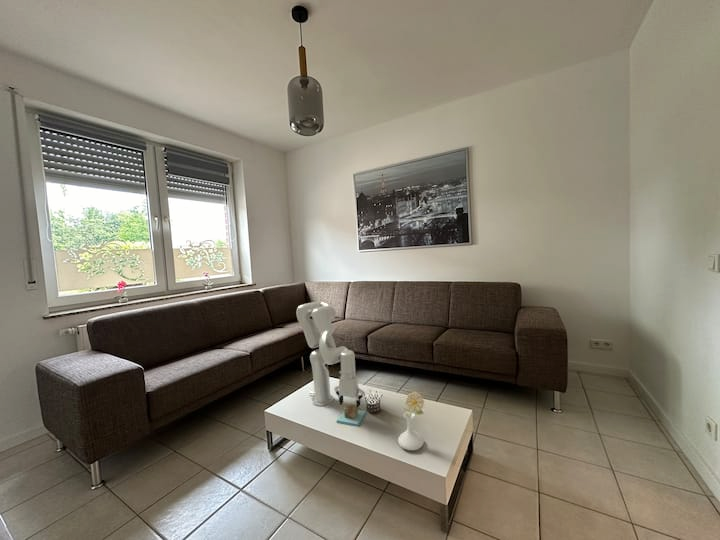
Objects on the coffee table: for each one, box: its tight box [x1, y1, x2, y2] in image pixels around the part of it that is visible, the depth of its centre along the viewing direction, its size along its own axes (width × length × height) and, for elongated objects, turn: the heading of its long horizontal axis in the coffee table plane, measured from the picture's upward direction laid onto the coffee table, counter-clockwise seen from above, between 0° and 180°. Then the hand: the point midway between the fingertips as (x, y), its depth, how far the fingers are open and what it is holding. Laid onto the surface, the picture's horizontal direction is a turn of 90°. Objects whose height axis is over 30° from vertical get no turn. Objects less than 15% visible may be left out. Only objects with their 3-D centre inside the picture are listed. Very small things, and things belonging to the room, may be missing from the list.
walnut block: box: [343, 402, 359, 419], centre depth 151 cm, size 6×6×5 cm
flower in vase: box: [397, 391, 425, 451], centre depth 127 cm, size 13×11×25 cm
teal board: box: [336, 409, 367, 427], centre depth 151 cm, size 12×12×1 cm
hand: (349, 404), depth 152 cm, fingers open, 9 cm apart
